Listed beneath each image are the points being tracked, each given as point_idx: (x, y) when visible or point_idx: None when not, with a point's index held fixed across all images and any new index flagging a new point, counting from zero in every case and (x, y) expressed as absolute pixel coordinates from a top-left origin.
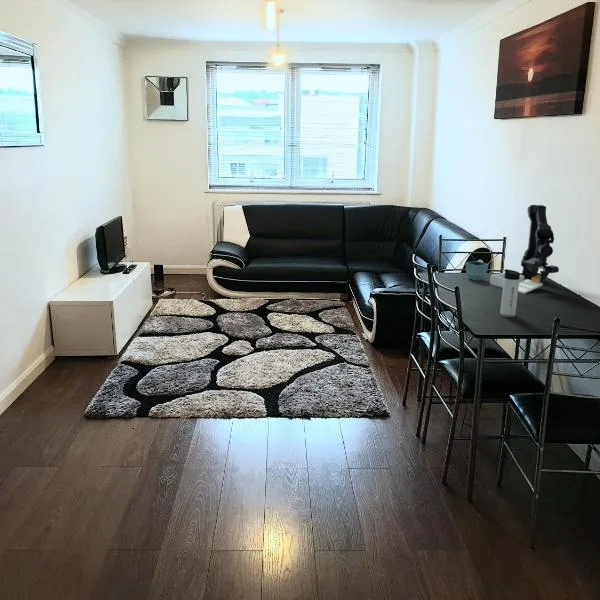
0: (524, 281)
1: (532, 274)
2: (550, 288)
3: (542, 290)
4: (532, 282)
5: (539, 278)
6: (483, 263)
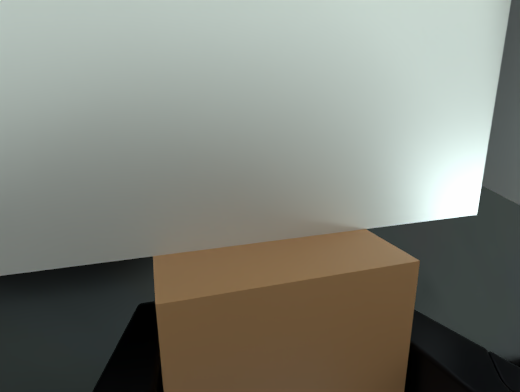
0: (465, 65)
1: (501, 384)
2: None
3: None
4: (265, 135)
5: (181, 386)
6: None
